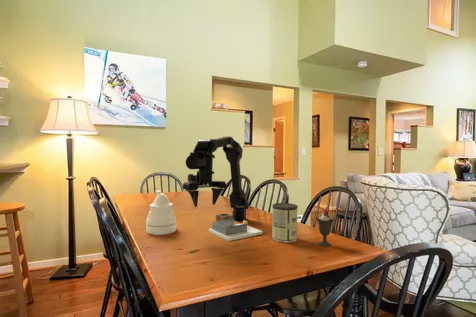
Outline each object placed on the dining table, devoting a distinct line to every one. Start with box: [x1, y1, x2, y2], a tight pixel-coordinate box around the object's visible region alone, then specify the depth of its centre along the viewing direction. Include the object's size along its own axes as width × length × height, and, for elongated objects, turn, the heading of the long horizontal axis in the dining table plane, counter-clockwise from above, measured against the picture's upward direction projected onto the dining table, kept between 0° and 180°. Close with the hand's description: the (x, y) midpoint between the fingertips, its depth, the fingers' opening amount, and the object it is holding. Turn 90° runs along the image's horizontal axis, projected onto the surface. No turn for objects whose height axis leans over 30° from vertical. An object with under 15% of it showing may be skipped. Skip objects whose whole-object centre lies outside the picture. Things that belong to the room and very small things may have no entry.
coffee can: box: [271, 202, 299, 244], centre depth 115 cm, size 10×10×14 cm
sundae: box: [316, 206, 335, 248], centre depth 108 cm, size 7×7×15 cm
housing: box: [211, 219, 248, 235], centre depth 122 cm, size 11×11×3 cm
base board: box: [208, 220, 264, 242], centre depth 123 cm, size 18×16×4 cm
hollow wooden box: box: [215, 212, 233, 222], centre depth 136 cm, size 6×6×5 cm
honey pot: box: [145, 190, 177, 236], centre depth 124 cm, size 13×13×18 cm
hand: (204, 205), depth 117 cm, fingers open, 9 cm apart
